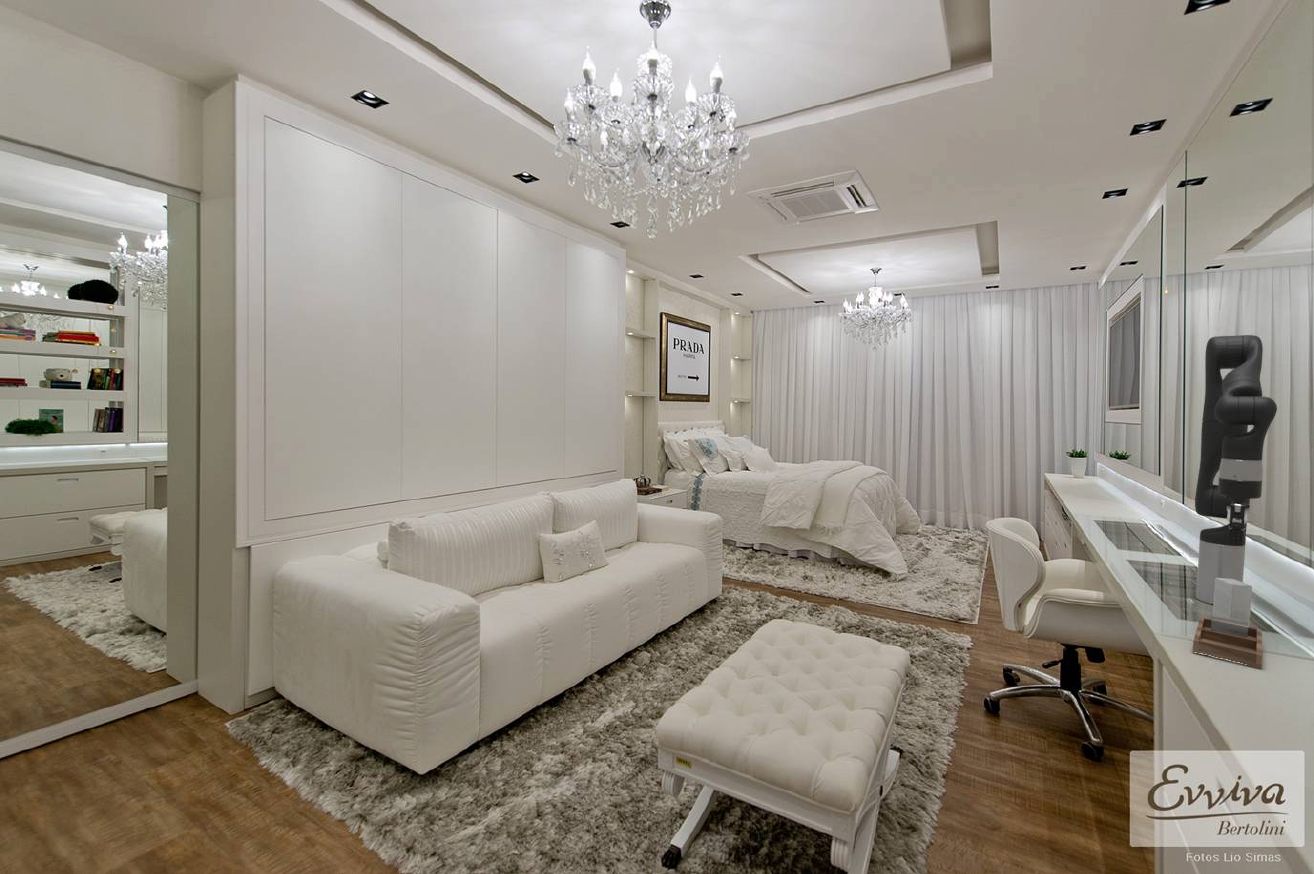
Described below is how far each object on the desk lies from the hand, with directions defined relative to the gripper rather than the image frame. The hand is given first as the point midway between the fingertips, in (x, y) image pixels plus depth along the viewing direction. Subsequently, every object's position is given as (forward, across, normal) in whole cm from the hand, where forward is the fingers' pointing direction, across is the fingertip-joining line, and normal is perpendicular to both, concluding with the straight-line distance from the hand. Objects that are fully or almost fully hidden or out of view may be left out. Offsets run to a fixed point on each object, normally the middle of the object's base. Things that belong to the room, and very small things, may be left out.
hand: (1235, 542), depth 142 cm
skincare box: (+22, 0, 0) cm, 22 cm away
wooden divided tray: (+22, +17, 0) cm, 27 cm away
